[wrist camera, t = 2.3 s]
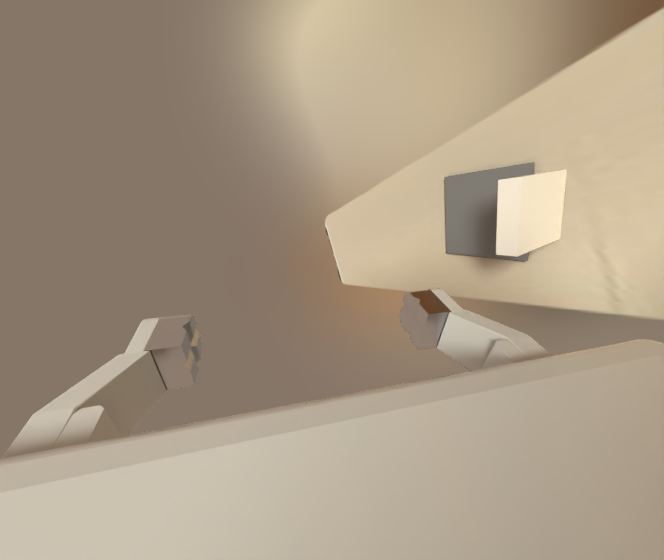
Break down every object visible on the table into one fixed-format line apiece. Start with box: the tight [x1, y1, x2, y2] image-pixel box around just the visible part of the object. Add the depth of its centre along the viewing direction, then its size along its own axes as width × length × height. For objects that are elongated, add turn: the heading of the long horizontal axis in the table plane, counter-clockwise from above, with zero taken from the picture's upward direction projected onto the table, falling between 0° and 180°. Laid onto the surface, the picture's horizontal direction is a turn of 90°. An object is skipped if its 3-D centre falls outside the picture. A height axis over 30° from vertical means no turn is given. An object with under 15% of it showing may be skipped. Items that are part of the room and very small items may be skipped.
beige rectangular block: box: [496, 169, 567, 257], centre depth 35 cm, size 3×9×11 cm, turn 14°
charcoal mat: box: [445, 162, 534, 261], centre depth 45 cm, size 14×14×1 cm
